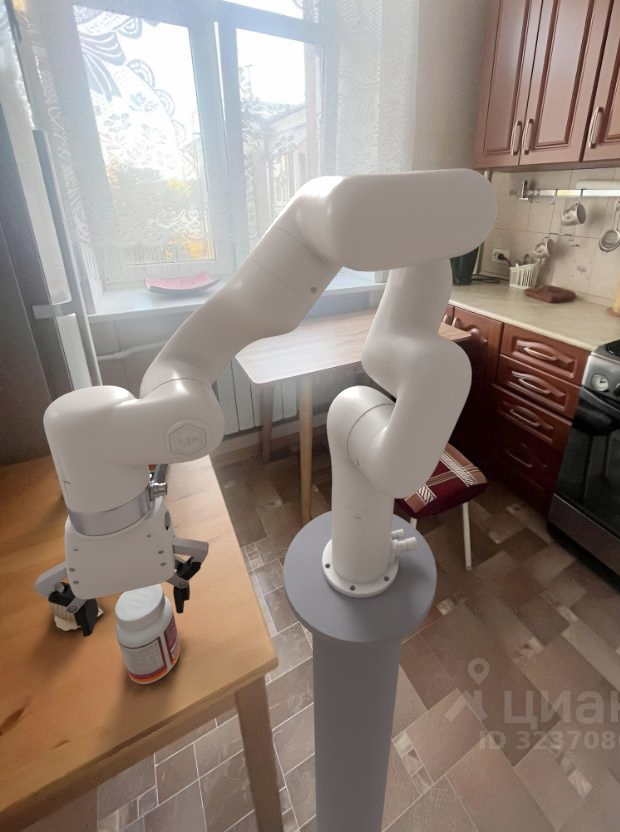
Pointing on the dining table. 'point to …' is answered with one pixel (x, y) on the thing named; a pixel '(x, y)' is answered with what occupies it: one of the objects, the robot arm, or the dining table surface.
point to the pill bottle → (147, 633)
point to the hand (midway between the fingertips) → (138, 613)
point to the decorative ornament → (64, 616)
